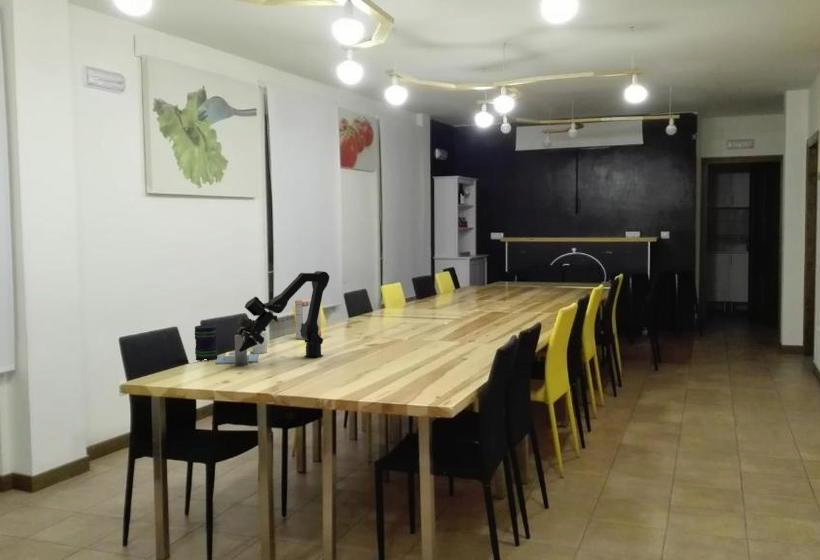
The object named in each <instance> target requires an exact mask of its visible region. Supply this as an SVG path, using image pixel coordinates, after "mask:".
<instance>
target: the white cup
mask: <svg viewBox="0 0 820 560" xmlns="http://www.w3.org/2000/svg"><path fill="white" fill-rule="evenodd" d="M260 335H261V336H262V337H263V338H264V342H263V343H262V344H259V343H258V342H257V344H258V345H255V346H253V347H251V348H252V354H256V353H260V354H265V352H266V353H268V331H267V330H266V331H263V332H262V333H261V334H260Z"/></svg>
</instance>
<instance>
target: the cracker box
mask: <svg viewBox="0 0 820 560" xmlns="http://www.w3.org/2000/svg"><path fill="white" fill-rule="evenodd" d="M310 302H311V297H310V298H304V299H303V298H302V299H296V300H294V313H295V316H294V317H295V337H296V340H301V339H302V341H304V339H303V338H302V337H301V332H300V330H301V324H302V323H304V324H305V322H306V321H307V317H308V312H309V307H310ZM321 319H322V317H321V309H320V310H319V315H318V320H317V324H318V335H319V336H320V337H322V322H321V321H322V320H321Z"/></svg>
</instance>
